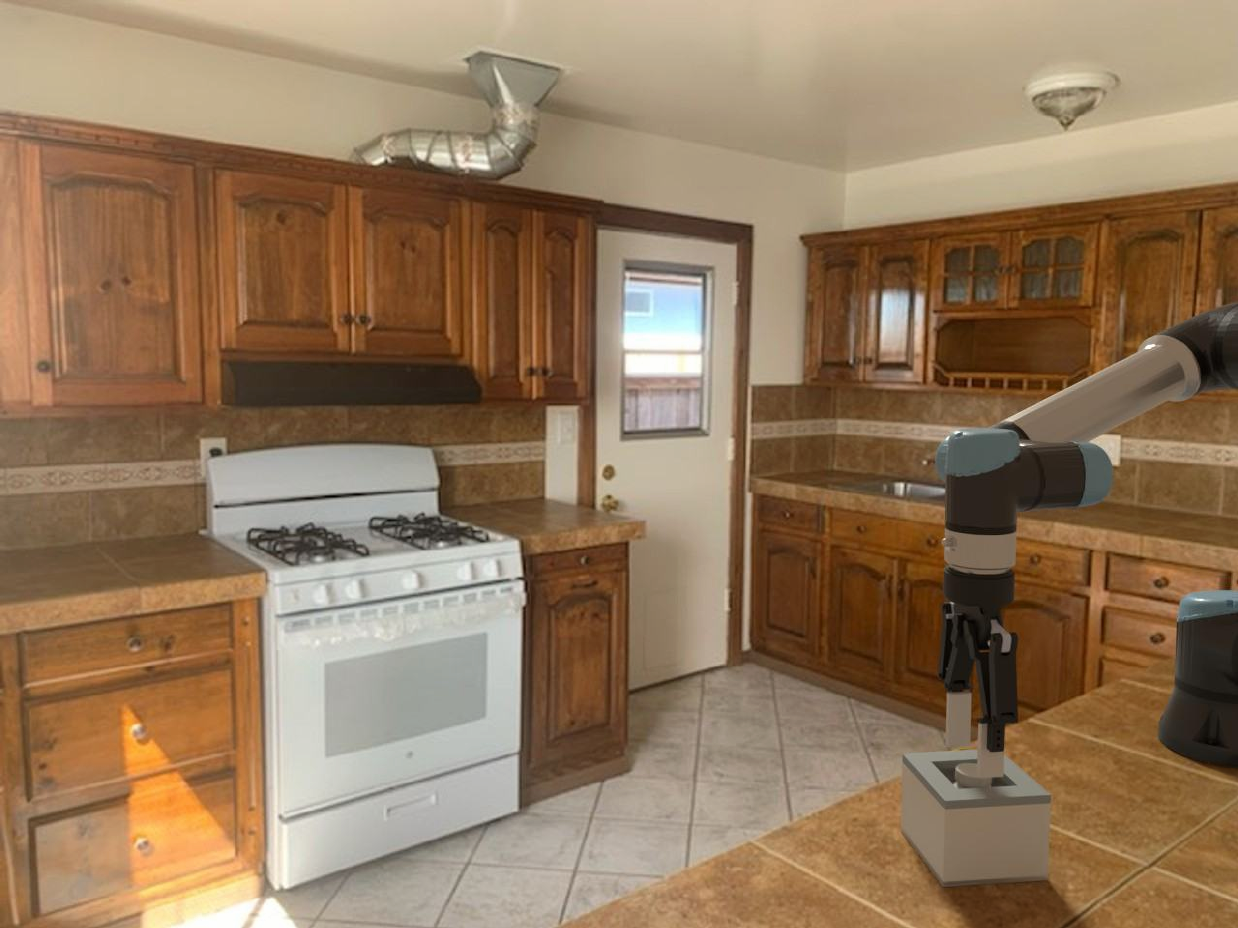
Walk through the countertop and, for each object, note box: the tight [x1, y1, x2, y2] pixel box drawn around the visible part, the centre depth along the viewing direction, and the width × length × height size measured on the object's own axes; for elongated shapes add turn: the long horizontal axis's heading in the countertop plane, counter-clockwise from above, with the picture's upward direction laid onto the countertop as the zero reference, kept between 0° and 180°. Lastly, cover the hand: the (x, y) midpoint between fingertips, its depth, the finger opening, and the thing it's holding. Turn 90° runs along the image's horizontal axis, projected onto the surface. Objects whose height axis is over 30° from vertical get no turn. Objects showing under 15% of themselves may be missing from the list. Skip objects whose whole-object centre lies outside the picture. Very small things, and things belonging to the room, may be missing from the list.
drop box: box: [900, 749, 1052, 888], centre depth 107 cm, size 12×12×10 cm
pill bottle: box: [952, 763, 992, 789], centre depth 107 cm, size 5×5×10 cm
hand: (973, 759), depth 106 cm, fingers open, 7 cm apart
